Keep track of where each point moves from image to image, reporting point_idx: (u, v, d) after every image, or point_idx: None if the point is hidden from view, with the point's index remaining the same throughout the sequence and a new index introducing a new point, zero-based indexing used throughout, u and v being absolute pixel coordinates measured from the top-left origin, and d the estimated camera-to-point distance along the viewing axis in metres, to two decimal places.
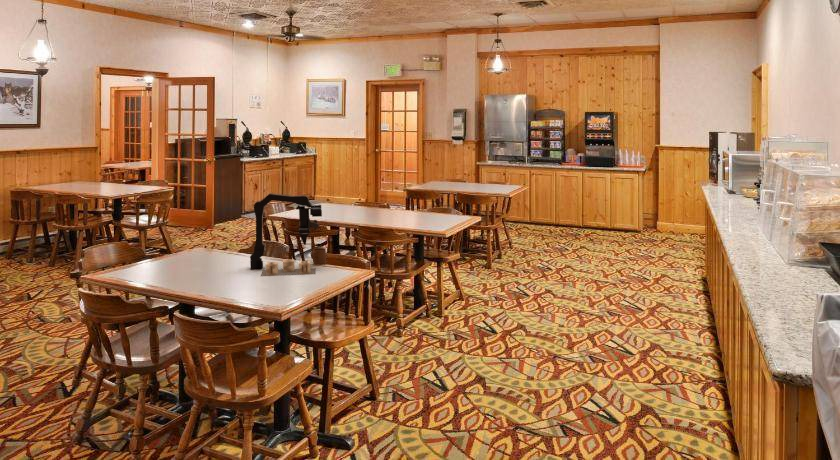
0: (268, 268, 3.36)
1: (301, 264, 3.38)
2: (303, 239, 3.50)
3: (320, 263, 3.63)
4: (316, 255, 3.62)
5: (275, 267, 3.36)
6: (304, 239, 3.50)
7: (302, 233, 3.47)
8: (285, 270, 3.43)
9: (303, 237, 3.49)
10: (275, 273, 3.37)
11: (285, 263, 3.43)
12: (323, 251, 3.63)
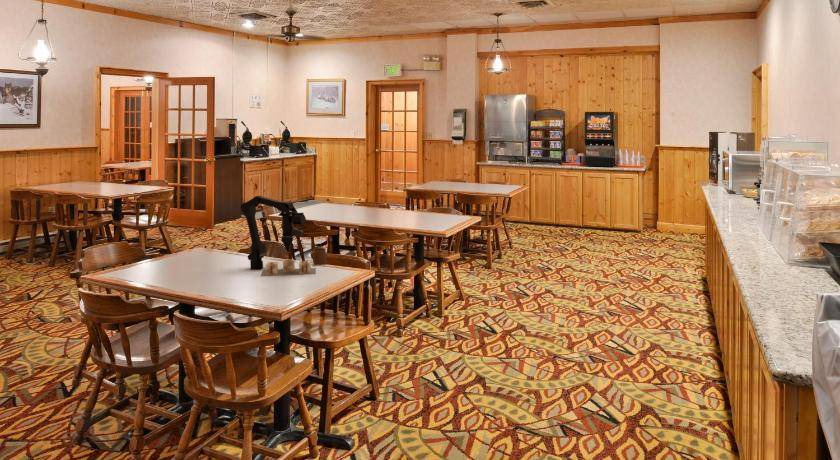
0: (268, 268, 3.36)
1: (301, 264, 3.38)
2: (286, 246, 3.41)
3: (320, 263, 3.63)
4: (316, 255, 3.62)
5: (275, 267, 3.36)
6: (287, 246, 3.41)
7: (285, 240, 3.39)
8: (285, 270, 3.43)
9: (286, 244, 3.41)
10: (275, 273, 3.37)
11: (285, 263, 3.43)
12: (323, 251, 3.63)
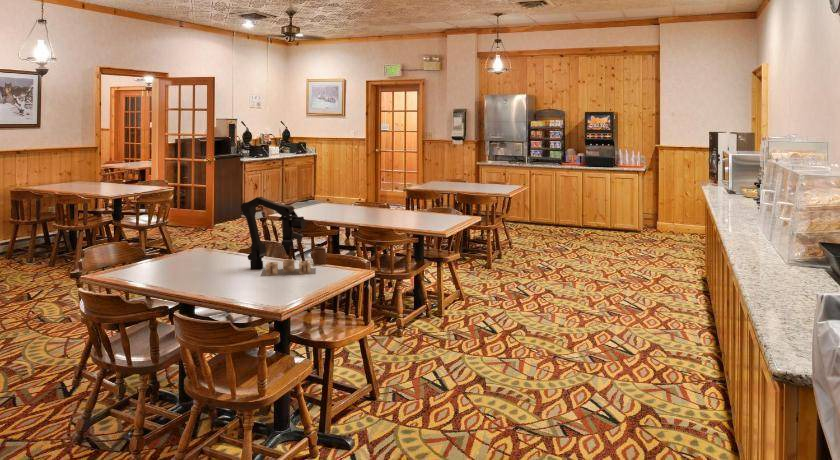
0: (268, 268, 3.36)
1: (301, 264, 3.38)
2: (286, 250, 3.44)
3: (320, 263, 3.63)
4: (316, 255, 3.62)
5: (275, 267, 3.36)
6: (287, 250, 3.44)
7: None
8: (285, 270, 3.43)
9: (286, 247, 3.43)
10: (275, 273, 3.37)
11: (285, 263, 3.43)
12: (323, 251, 3.63)
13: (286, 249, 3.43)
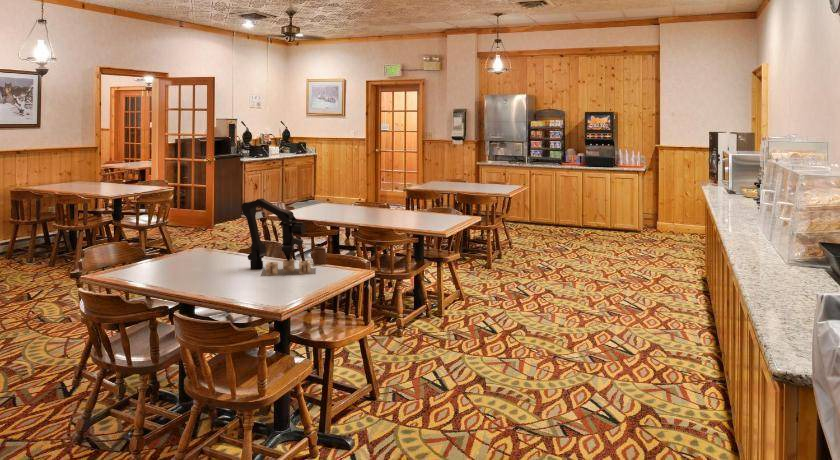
0: (268, 268, 3.36)
1: (301, 264, 3.38)
2: (287, 255, 3.44)
3: (320, 263, 3.63)
4: (316, 255, 3.62)
5: (275, 267, 3.36)
6: (288, 255, 3.44)
7: None
8: (285, 270, 3.43)
9: (287, 253, 3.44)
10: (275, 273, 3.37)
11: (285, 263, 3.43)
12: (323, 251, 3.63)
13: (286, 254, 3.44)
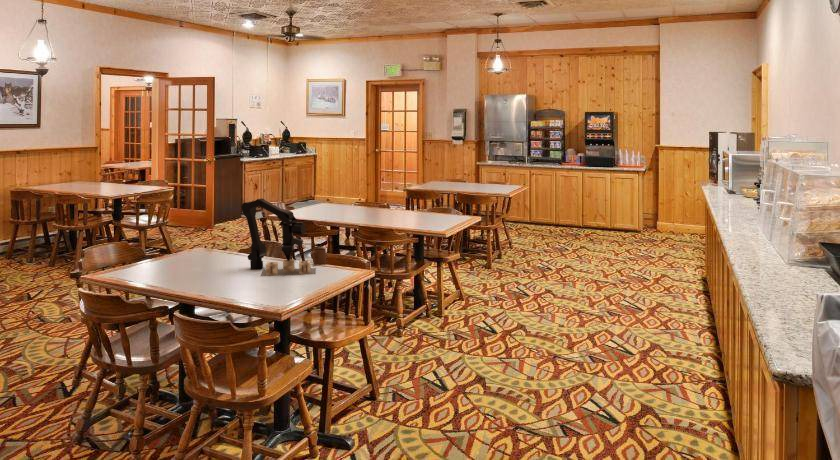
0: (268, 268, 3.36)
1: (301, 264, 3.38)
2: (287, 255, 3.44)
3: (320, 263, 3.63)
4: (316, 255, 3.62)
5: (275, 267, 3.36)
6: (288, 255, 3.44)
7: None
8: (285, 270, 3.43)
9: (287, 253, 3.44)
10: (275, 273, 3.37)
11: (285, 263, 3.43)
12: (323, 251, 3.63)
13: (286, 254, 3.44)
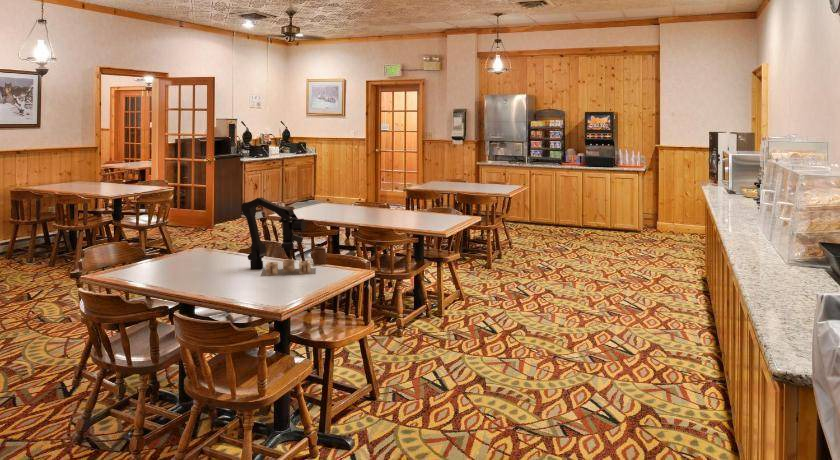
0: (268, 268, 3.36)
1: (301, 264, 3.38)
2: (287, 252, 3.44)
3: (320, 263, 3.63)
4: (316, 255, 3.62)
5: (275, 267, 3.36)
6: (288, 252, 3.44)
7: None
8: (285, 270, 3.43)
9: (287, 250, 3.43)
10: (275, 273, 3.37)
11: (285, 263, 3.43)
12: (323, 251, 3.63)
13: (286, 251, 3.43)
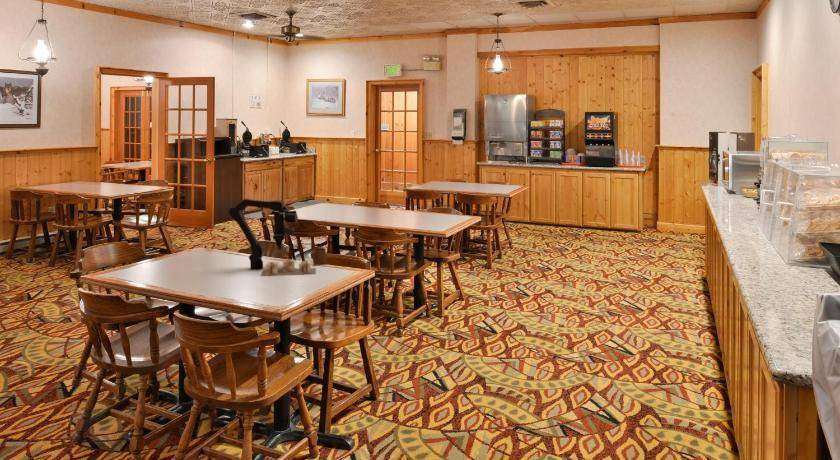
0: (268, 268, 3.36)
1: (301, 264, 3.38)
2: (278, 244, 3.49)
3: (320, 263, 3.63)
4: (316, 255, 3.62)
5: (275, 267, 3.36)
6: (279, 244, 3.49)
7: None
8: (285, 270, 3.43)
9: (278, 242, 3.49)
10: (275, 273, 3.37)
11: (285, 263, 3.43)
12: (323, 251, 3.63)
13: (278, 243, 3.49)
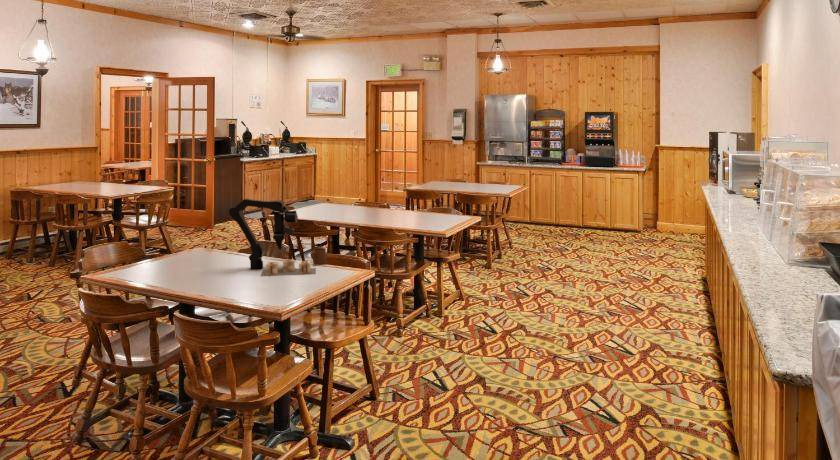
0: (268, 268, 3.36)
1: (301, 264, 3.38)
2: (278, 244, 3.49)
3: (320, 263, 3.63)
4: (316, 255, 3.62)
5: (275, 267, 3.36)
6: (279, 244, 3.49)
7: None
8: (285, 270, 3.43)
9: (278, 242, 3.49)
10: (275, 273, 3.37)
11: (285, 263, 3.43)
12: (323, 251, 3.63)
13: (278, 243, 3.49)
